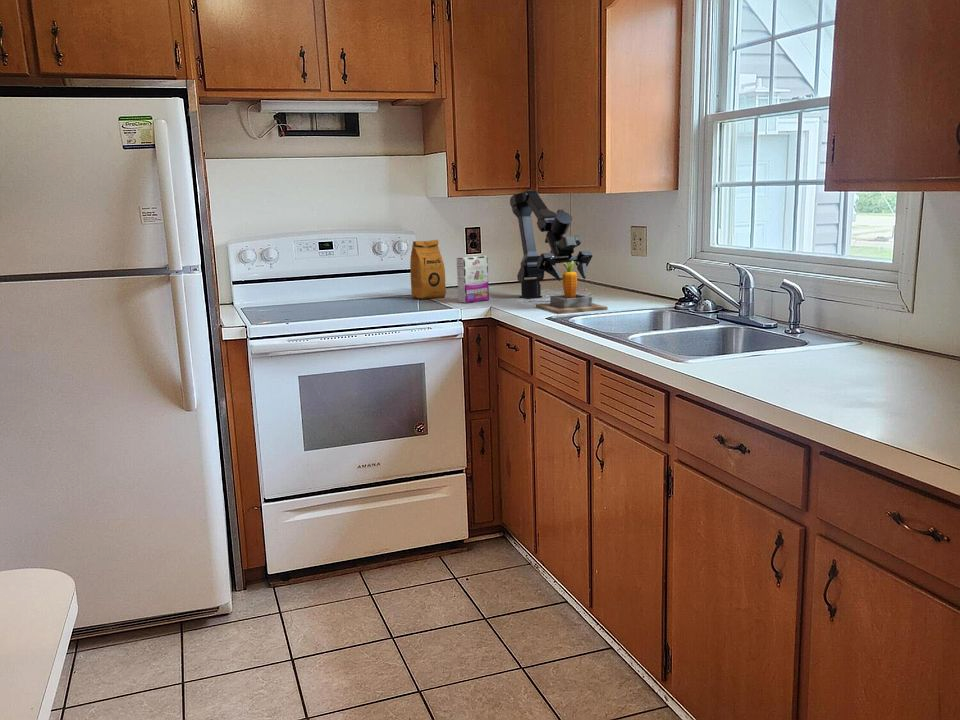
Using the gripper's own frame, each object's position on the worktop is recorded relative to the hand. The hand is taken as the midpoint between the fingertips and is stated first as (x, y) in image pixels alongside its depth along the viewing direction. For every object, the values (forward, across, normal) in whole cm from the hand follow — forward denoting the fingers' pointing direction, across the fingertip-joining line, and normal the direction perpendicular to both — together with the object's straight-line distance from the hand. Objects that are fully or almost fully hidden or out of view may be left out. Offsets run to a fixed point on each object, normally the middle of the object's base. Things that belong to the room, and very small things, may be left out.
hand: (572, 279), depth 279 cm
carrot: (+5, 0, +8) cm, 9 cm away
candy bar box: (-18, -22, +33) cm, 44 cm away
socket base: (+6, 0, +8) cm, 10 cm away
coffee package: (-31, -34, +46) cm, 65 cm away
